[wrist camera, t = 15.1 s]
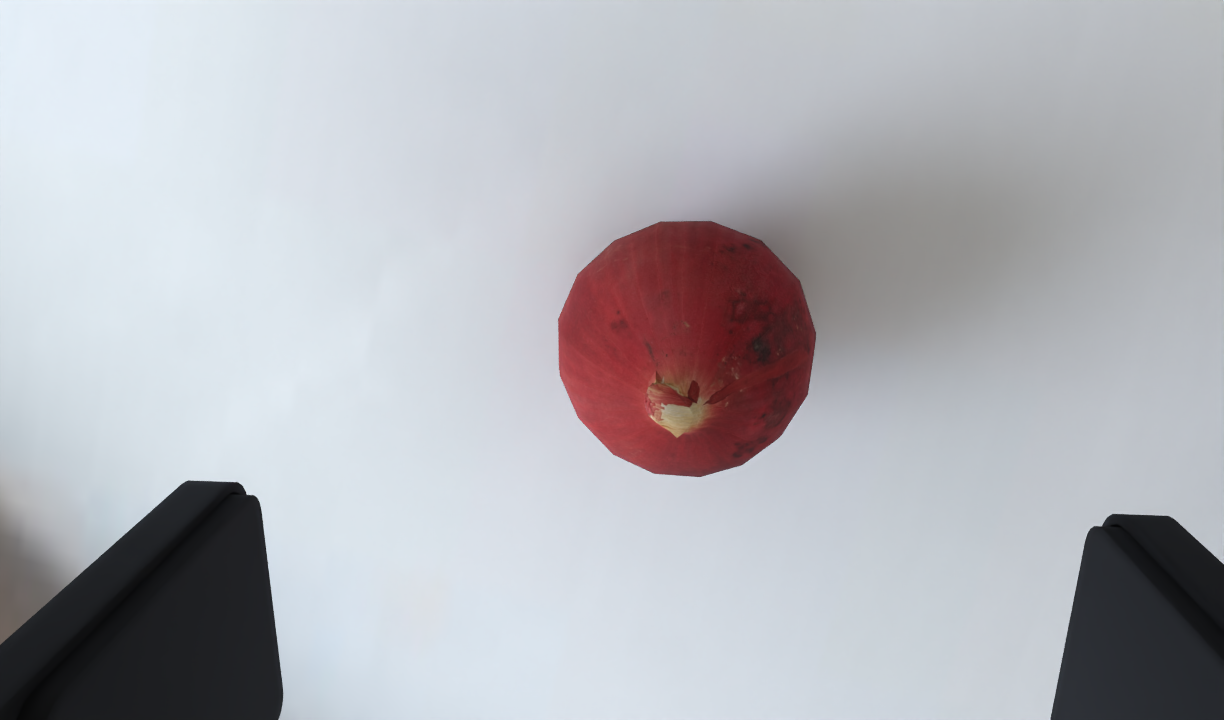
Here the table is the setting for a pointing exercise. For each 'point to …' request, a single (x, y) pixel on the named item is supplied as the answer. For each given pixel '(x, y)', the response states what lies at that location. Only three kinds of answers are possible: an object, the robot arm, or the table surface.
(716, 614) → the table surface
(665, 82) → the table surface
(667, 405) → the onion
